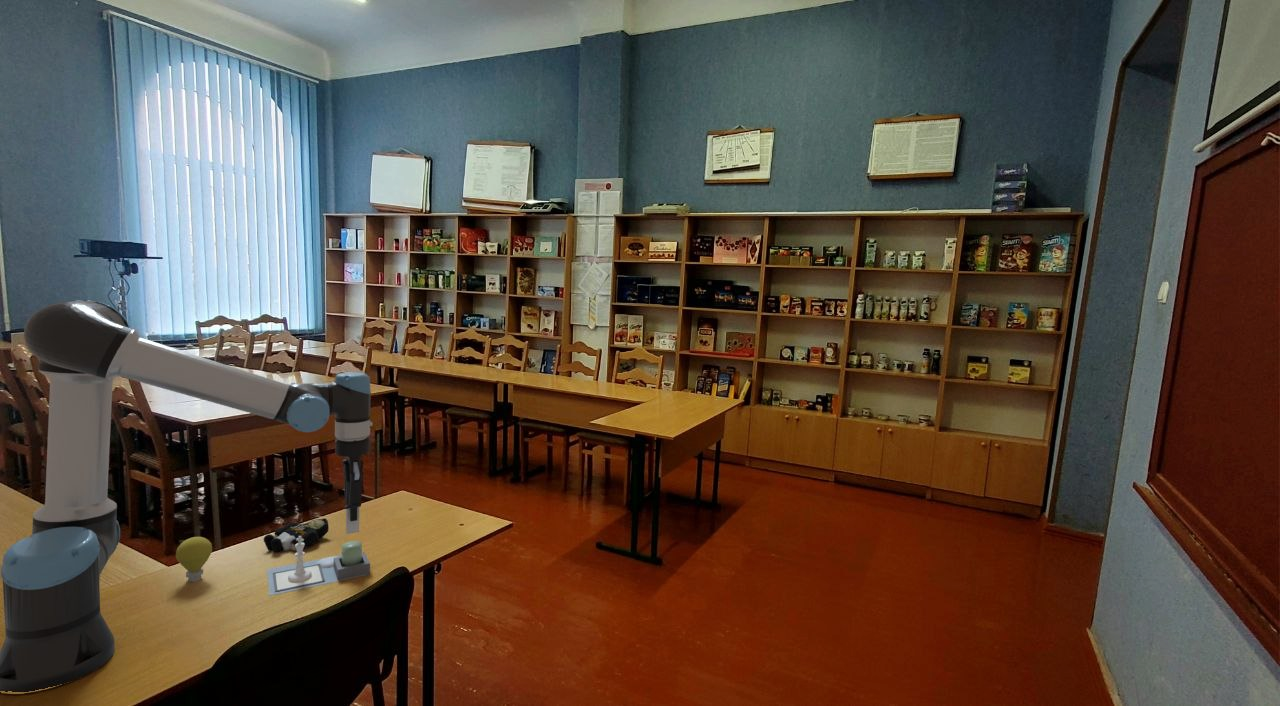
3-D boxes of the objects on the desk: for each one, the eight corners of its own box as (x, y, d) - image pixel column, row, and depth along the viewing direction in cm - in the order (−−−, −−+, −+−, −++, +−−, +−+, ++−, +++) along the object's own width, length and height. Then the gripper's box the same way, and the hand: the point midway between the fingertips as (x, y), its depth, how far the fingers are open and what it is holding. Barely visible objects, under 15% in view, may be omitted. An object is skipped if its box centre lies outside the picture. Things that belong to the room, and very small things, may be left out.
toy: (254, 533, 148) (309, 502, 160) (263, 557, 151) (317, 525, 163) (279, 546, 142) (335, 513, 154) (288, 570, 144) (342, 536, 156)
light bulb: (215, 579, 132) (215, 538, 131) (179, 589, 127) (178, 546, 126) (209, 569, 137) (208, 529, 136) (173, 578, 132) (173, 537, 131)
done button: (343, 568, 135) (343, 550, 135) (340, 560, 139) (340, 543, 138) (363, 564, 138) (363, 546, 137) (360, 557, 141) (360, 539, 141)
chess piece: (300, 583, 131) (300, 542, 130) (282, 580, 132) (282, 539, 131) (316, 573, 136) (316, 533, 135) (299, 570, 137) (299, 530, 136)
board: (269, 599, 125) (269, 584, 125) (267, 572, 137) (267, 559, 136) (370, 577, 137) (370, 564, 137) (360, 554, 149) (360, 542, 148)
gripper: (375, 442, 132) (374, 538, 135) (365, 429, 143) (364, 519, 145) (339, 445, 128) (339, 545, 130) (331, 432, 139) (331, 525, 141)
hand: (352, 531), depth 138 cm, fingers closed
